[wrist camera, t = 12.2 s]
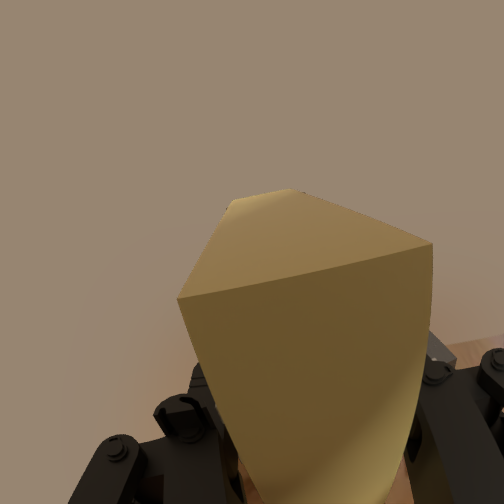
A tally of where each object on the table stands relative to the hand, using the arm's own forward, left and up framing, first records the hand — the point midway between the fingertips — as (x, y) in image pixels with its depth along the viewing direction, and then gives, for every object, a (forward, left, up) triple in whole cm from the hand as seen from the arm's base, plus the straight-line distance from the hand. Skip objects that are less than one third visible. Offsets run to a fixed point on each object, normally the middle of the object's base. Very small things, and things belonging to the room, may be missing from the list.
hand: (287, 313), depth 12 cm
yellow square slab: (0, +2, -7) cm, 7 cm away
